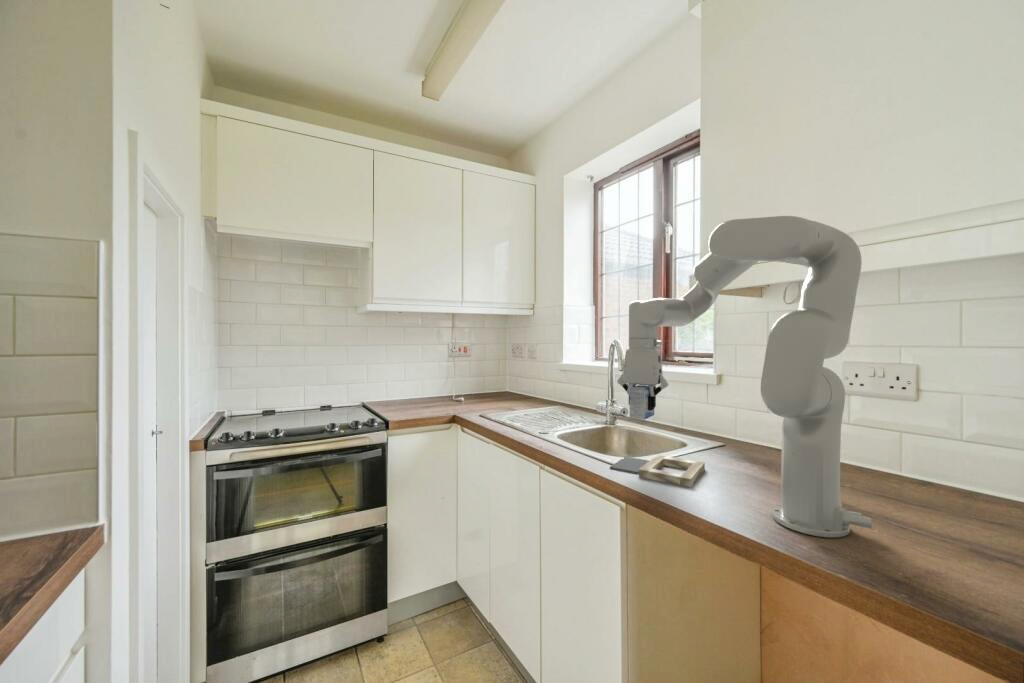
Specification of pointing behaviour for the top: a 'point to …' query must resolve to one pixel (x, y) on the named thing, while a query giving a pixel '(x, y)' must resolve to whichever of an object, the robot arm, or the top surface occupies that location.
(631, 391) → the medicine box
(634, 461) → the rubber mat
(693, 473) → the pocket board
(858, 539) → the top surface
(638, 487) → the top surface
